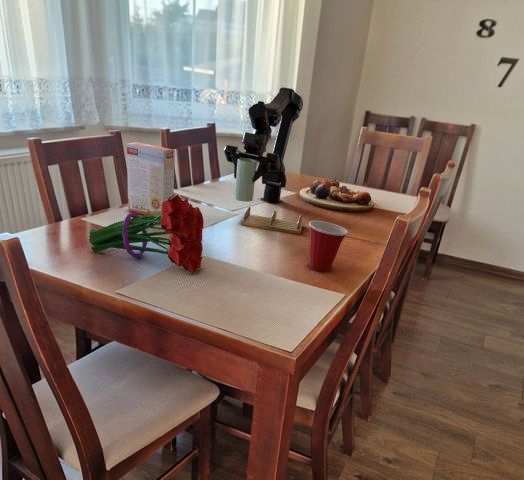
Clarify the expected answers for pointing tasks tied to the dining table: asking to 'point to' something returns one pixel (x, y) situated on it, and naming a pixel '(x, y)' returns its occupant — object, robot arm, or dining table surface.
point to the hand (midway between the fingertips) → (244, 179)
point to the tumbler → (245, 179)
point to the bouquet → (172, 222)
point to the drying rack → (272, 223)
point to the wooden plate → (336, 196)
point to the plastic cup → (324, 244)
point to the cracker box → (149, 177)
